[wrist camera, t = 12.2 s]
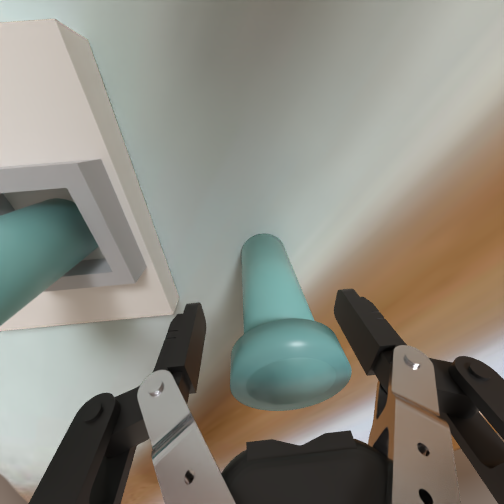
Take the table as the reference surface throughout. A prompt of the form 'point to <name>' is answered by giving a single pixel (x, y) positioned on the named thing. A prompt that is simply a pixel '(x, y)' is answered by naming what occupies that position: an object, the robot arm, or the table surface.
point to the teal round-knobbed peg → (281, 337)
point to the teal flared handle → (39, 250)
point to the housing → (76, 178)
